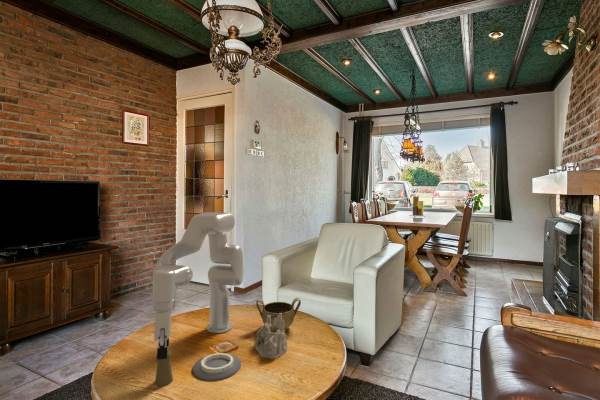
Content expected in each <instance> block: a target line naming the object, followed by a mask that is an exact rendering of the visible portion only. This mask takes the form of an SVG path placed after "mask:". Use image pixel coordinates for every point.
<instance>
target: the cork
mask: <svg viewBox="0 0 600 400" xmlns="http://www.w3.org/2000/svg"><path fill="white" fill-rule="evenodd" d="M172 356H173V353H172V351H171V349H168V348H167V358H166V359H159V360H158V359H157V354H156V356H155V359H156V362H157V367H156V372H155V380H154V385H155V386H156V387H166V386H168V385H170V384H172V383H173V381H174V377H173V370H172V363H171V359H172Z"/></svg>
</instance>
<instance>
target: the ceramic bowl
mask: <svg viewBox="0 0 600 400" xmlns="http://www.w3.org/2000/svg"><path fill="white" fill-rule="evenodd" d="M296 302H298V303H297V305H296V307H295V304H296ZM259 303H261V304H262V310H261V308H260V306H259ZM301 303H302V301H301V298H299V297H295V298H293V300H292V302H291V303H289V302H286V301H272V302H268V303H266V304H265V302H264V300H263V299H262V298H258V299H257V300H256V303H255V305H256V308H257V309H258V313H259V315H260V317H261V320H262V323H263V325H264V324H265V323H266V322H267V316H268V315H270V316H271V324H272V326H273V321H274V318H277V317H278V315H279V314H280V313H282V320H284V323H285V330H287V329H288V328H290V327H291V326H292V324H293V323H294V319H295V317H296V314H297V313H298V310H299V309H300V306H301ZM294 307H295V308H294Z"/></svg>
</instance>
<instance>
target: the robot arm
mask: <svg viewBox="0 0 600 400" xmlns="http://www.w3.org/2000/svg"><path fill="white" fill-rule="evenodd" d="M235 224H236V219H235V216H234V215H233V214H232V213H231V212H215V211H214V212H213V211H211V212H210V211H209V212H202V213H201V212H200V213H199V214H196V215H193V217H191V219H190V221H189V223H188V225H187V227H186V229H185V231H184V233H183V236H182V237H181V239H180V241H178V242H176V243H175V244H173V245H171V246H170V247H169V248H168V249H167V250H165V251H164V252H163V253H162V254H161V256H160V257H159V259H158V261H157V263H156V265H155V267H154V269H153V272H152V274H153V275H152V304H151V305H152V307H151V309H152V312H155V313H154V331H153V335H154V337H153V340H154V342H156V341H157V348H156V355H157V359H158V360H159V359H166V358H167V349H168V347H169V346H170V334H171V327H172V311H173V310H175V309H176V288H178V287H184V286H187V285H188V284H189V283H191V281H192V279H193V277H194V276H193V275H194V274H193V270H192V268H191V267H190V266H187V265H180V264H174V263H175V262H176V261H177V260H179V259H181V258H184V257H186V256H189V255H192V254H195V253H197V252H199V251H200V250H201V248H202V245H203V243H204V241H205V238H206V236H207V237H208V244H209V247H208V248H209V258H210V261H211V262H212V263H213V264H215V265H212V266H211V267H209V269H208V271H207V280H208V284H209V323H208V324H207V325H206V331H207V332H209V333H211V334H222V333H227V332H229V331H230V330H232V328H233V323H232V322H230V290H229V288H228V287H227V286H234V287H235V286H236V287H237V286H240V285H242V284H243V281H244V278H245V277H244V275H245V274H244V252H243V249H242V248H241V246H240V245H237V244H229V243H228V238H227V237H228V236H227V233H228V232H230V231H232V230H233V229H234V227H235ZM157 359H156V360H157Z"/></svg>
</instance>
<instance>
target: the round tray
mask: <svg viewBox="0 0 600 400" xmlns="http://www.w3.org/2000/svg"><path fill="white" fill-rule="evenodd" d="M241 362H242V361H241V359H240V358H239V357H238V356H237V355H236V354H235V355H234V354H231V353H225V352H218V353H212V354H209V355H205V356H203V357H201V358H199V359H198V360H197V361H196V362H195V363H194V365H193V367H192V372H193V375H194V376H195V377H197V378H198V379H201V380H203V381H219V380H224V379H227V378H230V377H232V376H234V375H236V374H237V373H238V372H239V371H240V370H241V365H242V363H241Z"/></svg>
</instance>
